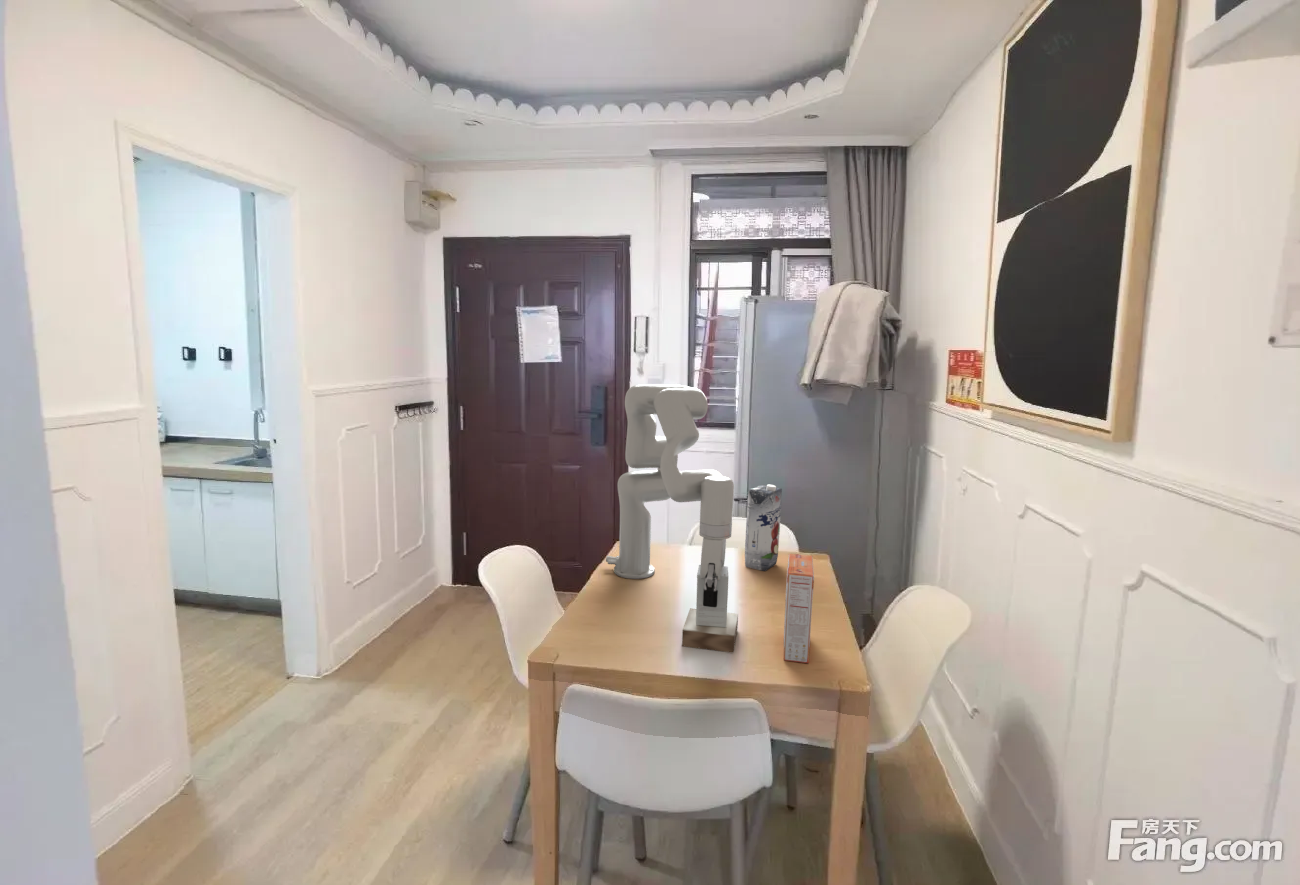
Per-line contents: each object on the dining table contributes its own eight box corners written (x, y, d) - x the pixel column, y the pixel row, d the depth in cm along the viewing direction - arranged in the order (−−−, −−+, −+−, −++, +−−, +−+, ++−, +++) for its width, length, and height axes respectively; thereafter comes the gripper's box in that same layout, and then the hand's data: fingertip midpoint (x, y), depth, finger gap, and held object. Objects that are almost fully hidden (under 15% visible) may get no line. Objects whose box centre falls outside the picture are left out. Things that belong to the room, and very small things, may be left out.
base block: (681, 646, 146) (682, 629, 145) (689, 624, 158) (690, 608, 157) (733, 652, 144) (734, 635, 143) (737, 630, 155) (738, 613, 155)
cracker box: (782, 633, 154) (788, 552, 151) (808, 637, 153) (814, 555, 149) (781, 661, 140) (787, 572, 137) (809, 665, 139) (815, 575, 136)
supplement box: (726, 615, 154) (729, 566, 152) (726, 628, 146) (728, 576, 144) (696, 612, 154) (698, 563, 153) (694, 625, 147) (696, 574, 145)
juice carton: (740, 567, 200) (745, 484, 196) (755, 558, 209) (759, 479, 204) (766, 573, 195) (771, 489, 191) (780, 564, 204) (785, 483, 199)
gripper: (704, 518, 156) (701, 583, 158) (694, 538, 139) (691, 611, 141) (734, 520, 154) (731, 586, 157) (728, 541, 137) (724, 615, 140)
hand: (712, 598), depth 149 cm, fingers open, 9 cm apart
